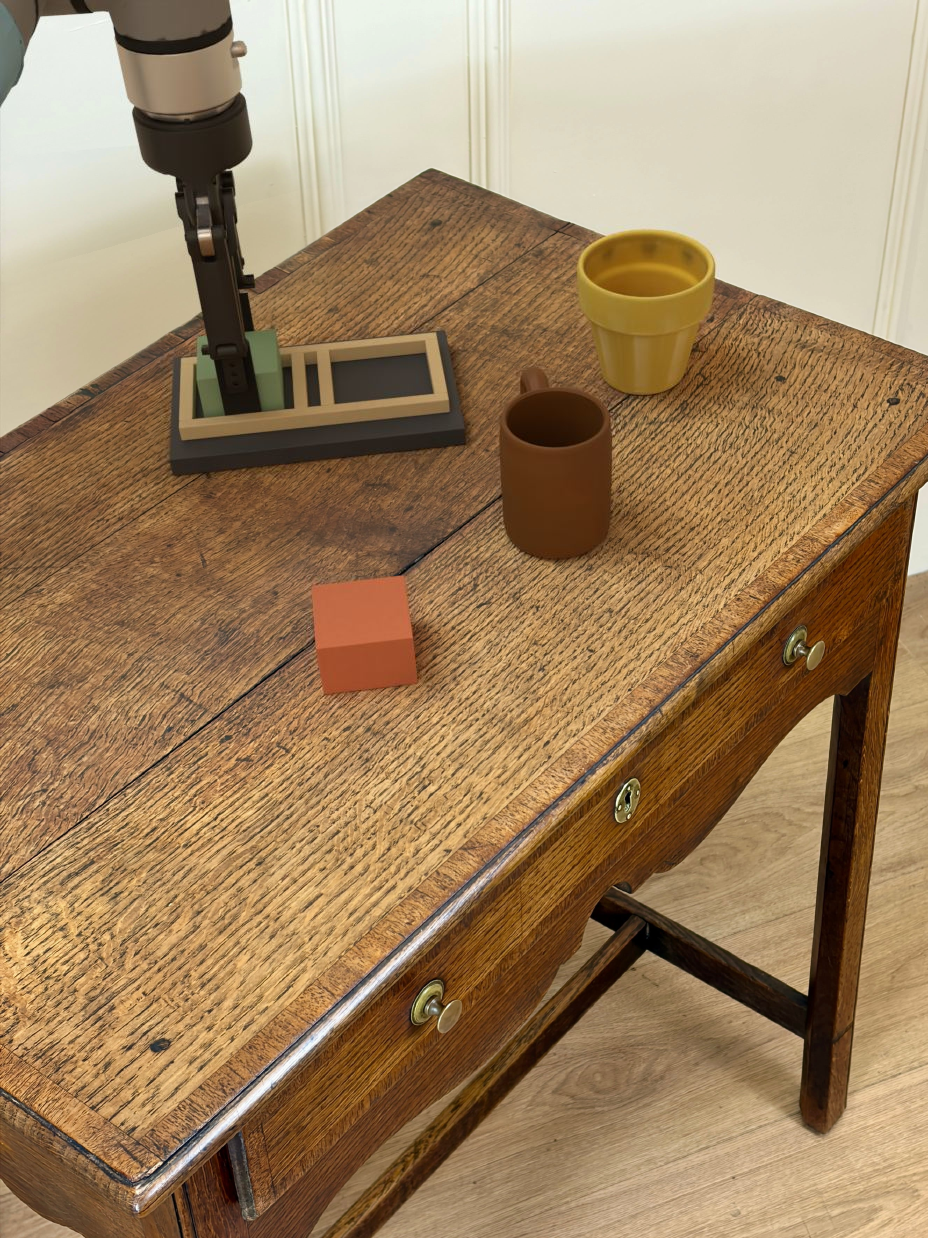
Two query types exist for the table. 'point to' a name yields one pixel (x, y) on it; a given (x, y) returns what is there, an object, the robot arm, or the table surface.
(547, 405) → the mug
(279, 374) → the green block
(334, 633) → the terracotta cube
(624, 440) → the table surface
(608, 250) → the flower pot
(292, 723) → the table surface
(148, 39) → the robot arm
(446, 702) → the table surface
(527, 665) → the table surface
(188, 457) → the backing plate
